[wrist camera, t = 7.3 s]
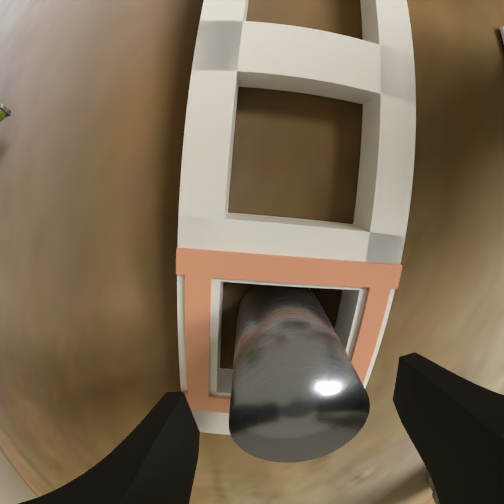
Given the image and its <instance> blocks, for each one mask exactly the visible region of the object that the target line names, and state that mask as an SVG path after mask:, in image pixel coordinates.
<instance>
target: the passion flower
mask: <svg viewBox="0 0 504 504" xmlns="http://www.w3.org/2000/svg"><path fill="white" fill-rule="evenodd" d="M0 109H1V110H2V111H0V122H1V121H2V120H3V118H4V117H5V116H6V114H5V113H7V114H8V115H10V112H11V111H10V110H8V109H7V108H5V107H4V105H3V104H2V103H0Z"/></svg>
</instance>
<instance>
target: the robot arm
mask: <svg viewBox="0 0 504 504" xmlns="http://www.w3.org/2000/svg"><path fill="white" fill-rule="evenodd" d="M500 31H501V35H502V39H503V43H504V27H501V28H500ZM393 401H394V404H395V407H396V409H397V412H398V415H399V417H400V419H401V422H402V424H403V426H404V428H405V429H406V431H407V433H408V435H409V437H410V438H411V440H412V442H413V444H414V445H415V447H416V449H417V451H418V453H419V454H420V456H421V458H422V460H423V462H424V463H425V465H426V467H427V470H428V472H429V474H430V476H431V479H432V482H433V484H434V487H435V490H436V493H437V496H438V499H439V503H440V504H504V395H502V394H498V393H496V392H493V391H490V390H488V389H486V388H483V387H481V386H479V385H476V384H474V383H472V382H470V381H468V380H466V379H464V378H462V377H460V376H458V375H456V374H454V373H452V372H450V371H448V370H447V369H445V368H443V367H441V366H439V365H437V364H436V363H434V362H432V361H430V360H428V359H427V358H425V357H423V356H421V355H419V354H417V353H415V352H414V353H411V354H408V355H404V356H401V357H399V364H398V371H397V378H396V384H395V390H394V396H393ZM199 433H200V431H199V429H198V426H197V424H196V421H195V419H194V416H193V414H192V412H191V409H190V407H189V404H188V401H187V399H186V396H185V394H184V392H167V393H166V394H165V395H164V396H163V397H162V398H161V400H160V401H159V402H158V403H157V404H156V405H155V406H154V408H153V409H152V410H151V411H150V412H149V413H148V415H147V416H146V417H145V418H144V419H143V420H142V421H141V422H140V424H139V425H138V426H137V427H136V428H135V429H134V430H133V431H132V432H131V433H130V434H129V435H128V436H127V437H126V438H125V439H124V440H123V441H122V442H121V443H120V444H119V445H118V446H117V447H116V448H115V449H114V450H113V451H112V452H111V453H110V454H109V455H107V456H106V457H105V458H104V459H103V460H101V461H100V462H99V463H98V464H96V465H95V466H94V467H92V468H91V469H90V470H88V471H87V472H85V473H84V474H82V475H81V476H79V477H77V478H76V479H74V480H73V481H71V482H69V483H68V484H66V485H64V486H62V487H60V488H58V489H56V490H54V491H52V492H50V493H48V494H45V495H43V496H41V497H38V498H35V499H32V500H29V501H26V502H22V503H19V504H189V500H190V495H191V490H192V485H193V480H194V475H195V470H196V465H197V460H198V452H199Z"/></svg>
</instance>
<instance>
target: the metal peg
mask: <svg viewBox="0 0 504 504" xmlns="http://www.w3.org/2000/svg"><path fill="white" fill-rule="evenodd" d="M369 408H370V403H369V397H368V395H367V392H366V390H365V388H364V386H363V384H362V382H361V380H360V378H359V376H358V374H357V372H356V370H355V369H354V367H353V365H352V363H351V361H350V359H349V357H348V355H347V353H346V351H345V349H344V347H343V345H342V343H341V342H340V340H339V338H338V336H337V334H336V332H335V330H334V328H333V326H332V325H331V323H330V321H329V319H328V317H327V315H326V313H325V312H324V310H323V308H322V306H321V304H320V302H319V301H318V299H317V297H316V295H315V294H314V292H313V291H312V290H311V289H310V288H308V287H291V286H275V285H261V284H256V285H255V286H253V287H252V288H251V289H250V290H249V291H248V292H247V293H246V294H245V295H244V297H243V298H242V300H241V302H240V305H239V308H238V313H237V325H236V336H235V348H234V360H233V372H232V385H231V397H230V410H229V431H230V434H231V436H232V438H233V440H234V441H235V443H236V444H237V445H238V446H239V447H240V448H241V449H243V450H244V451H245V452H247V453H249V454H251V455H253V456H255V457H258V458H261V459H264V460H268V461H274V462H300V461H306V460H311V459H315V458H318V457H321V456H324V455H327V454H329V453H331V452H333V451H335V450H337V449H339V448H340V447H342V446H343V445H345V444H346V443H348V442H349V441H350V440H351V439H352V438H353V437H354V436H355V435H356V434H357V433H358V432H359V431H360V430H361V428H362V427H363V425H364V423H365V422H366V419H367V417H368V414H369Z"/></svg>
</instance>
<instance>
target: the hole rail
mask: <svg viewBox="0 0 504 504" xmlns="http://www.w3.org/2000/svg"><path fill="white" fill-rule="evenodd" d="M248 1H249V0H204V2H203V6H202V12H201V17H200V22H199V28H198V33H197V39H196V45H195V51H194V58H193V64H192V71H191V78H190V86H189V94H188V102H187V110H186V120H185V129H184V140H183V151H182V164H181V178H180V195H179V215H178V246H177V249H176V274H177V318H178V349H179V369H180V385H181V392H184V394H185V396H186V399H187V401H188V404H189V407H190V409H191V412H192V414H193V416H194V419H195V421H196V424H197V426H198V429H199V431H200V432H204V433H214V434H225V435H231V434H230V431H229V410H230V397H231V385H232V372H233V369H225V368H220V348H221V324H222V303H223V284H224V282H233V283H247V284H261V285H275V286H291V287H308V288H326V289H343V290H342V295H341V300H340V305H339V310H338V315H337V320H336V324H335V329H334V330H335V332H336V334H337V336H338V338H339V340H340V342H341V343H342V345H343V347H344V349H345V351H346V353H347V355H348V357H349V359H350V361H351V363H352V365H353V367H354V369H355V370H356V372H357V374H358V376H359V378H360V380H361V382H362V384H363V386H364V388H366V386H367V383H368V380H369V377H370V374H371V371H372V369H373V366H374V363H375V360H376V356H377V353H378V350H379V347H380V344H381V340H382V337H383V334H384V330H385V327H386V323H387V319H388V316H389V312H390V308H391V304H392V300H393V296H394V292H395V289H398V285H399V280H400V276H401V271H402V265H400V264H401V259H402V254H403V248H404V242H405V236H406V230H407V224H408V217H409V209H410V201H411V192H412V183H413V171H414V157H415V137H416V86H415V66H414V53H413V43H412V34H411V26H410V19H409V12H408V6H407V0H360V4H361V18H362V37H363V40H361V39H357V38H354V37H349V36H345V35H341V34H336V33H332V32H327V31H322V30H316V29H311V28H305V27H298V26H291V25H283V24H274V23H263V22H249V21H246V17H247V9H248ZM239 87H250V88H262V89H273V90H282V91H290V92H298V93H305V94H311V95H318V96H324V97H329V98H335V99H340V100H345V101H350V102H355V103H359V104H363V115H362V136H361V151H360V164H359V176H358V186H357V195H356V204H355V213H354V220H353V224H348V223H339V222H329V221H320V220H310V219H299V218H288V217H277V216H266V215H253V214H241V213H228V205H229V191H230V178H231V166H232V154H233V142H234V131H235V120H236V109H237V99H238V89H239Z"/></svg>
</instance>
